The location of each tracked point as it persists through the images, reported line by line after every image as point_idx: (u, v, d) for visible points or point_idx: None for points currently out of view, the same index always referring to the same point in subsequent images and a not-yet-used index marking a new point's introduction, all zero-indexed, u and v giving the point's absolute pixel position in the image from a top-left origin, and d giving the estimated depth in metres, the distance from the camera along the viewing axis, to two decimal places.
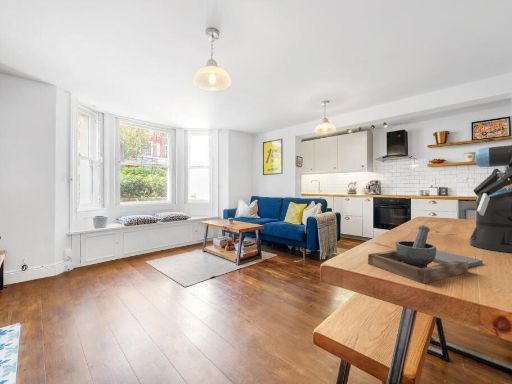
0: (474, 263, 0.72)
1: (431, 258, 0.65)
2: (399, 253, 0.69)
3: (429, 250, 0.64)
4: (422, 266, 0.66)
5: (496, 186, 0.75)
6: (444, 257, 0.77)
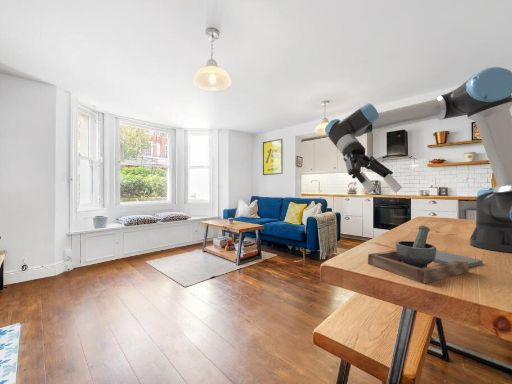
0: (474, 263, 0.72)
1: (431, 258, 0.65)
2: (399, 253, 0.69)
3: (429, 250, 0.64)
4: (422, 266, 0.66)
5: (376, 171, 0.87)
6: (444, 257, 0.77)
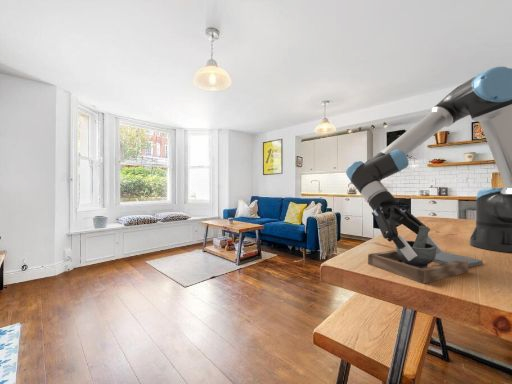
0: (474, 263, 0.72)
1: (431, 258, 0.65)
2: (399, 253, 0.69)
3: (429, 250, 0.64)
4: (422, 266, 0.66)
5: (409, 227, 0.75)
6: (444, 257, 0.77)
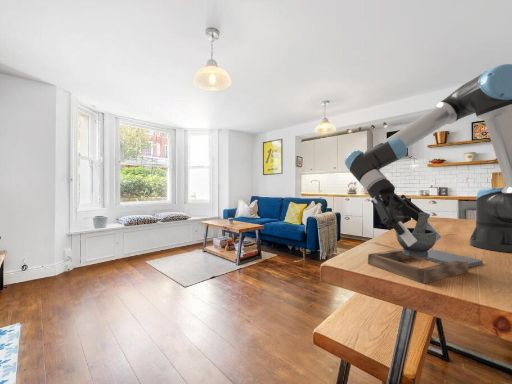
0: (474, 263, 0.72)
1: (431, 243, 0.65)
2: (399, 239, 0.69)
3: (429, 235, 0.64)
4: (422, 252, 0.66)
5: (408, 214, 0.75)
6: (444, 257, 0.77)
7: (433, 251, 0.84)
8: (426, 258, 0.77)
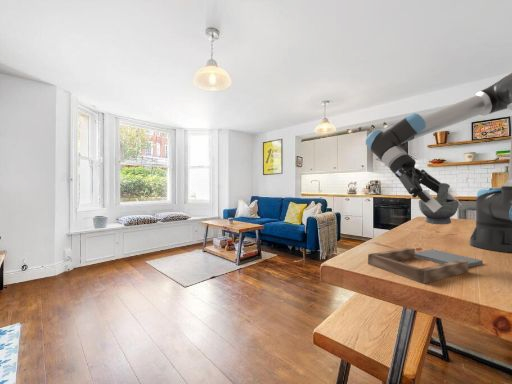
0: (474, 263, 0.72)
1: (454, 210, 0.71)
2: (423, 210, 0.75)
3: (452, 203, 0.70)
4: (446, 219, 0.72)
5: (429, 186, 0.81)
6: (444, 257, 0.77)
7: (433, 251, 0.84)
8: (426, 258, 0.77)
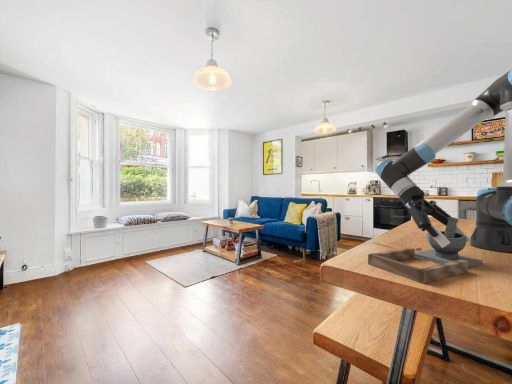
0: (474, 263, 0.72)
1: (462, 246, 0.73)
2: (432, 243, 0.77)
3: (460, 239, 0.73)
4: (454, 253, 0.75)
5: (437, 218, 0.83)
6: None
7: (433, 251, 0.84)
8: (426, 258, 0.77)
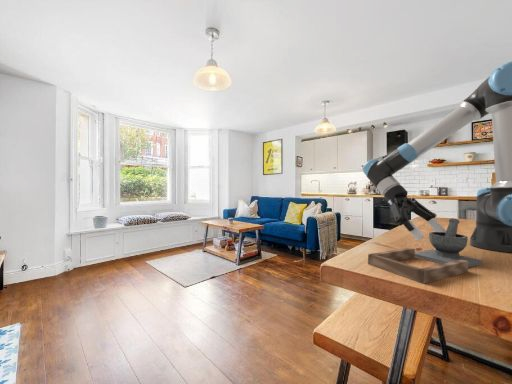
0: (474, 263, 0.72)
1: (463, 246, 0.75)
2: (434, 242, 0.78)
3: (462, 239, 0.74)
4: (455, 253, 0.76)
5: (419, 214, 0.89)
6: (444, 257, 0.77)
7: (433, 251, 0.84)
8: (426, 258, 0.77)
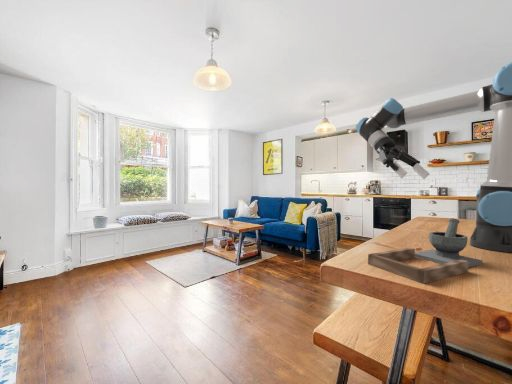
0: (474, 263, 0.72)
1: (463, 246, 0.75)
2: (434, 242, 0.78)
3: (462, 239, 0.74)
4: (455, 253, 0.76)
5: (405, 161, 1.00)
6: (444, 257, 0.77)
7: (433, 251, 0.84)
8: (426, 258, 0.77)
